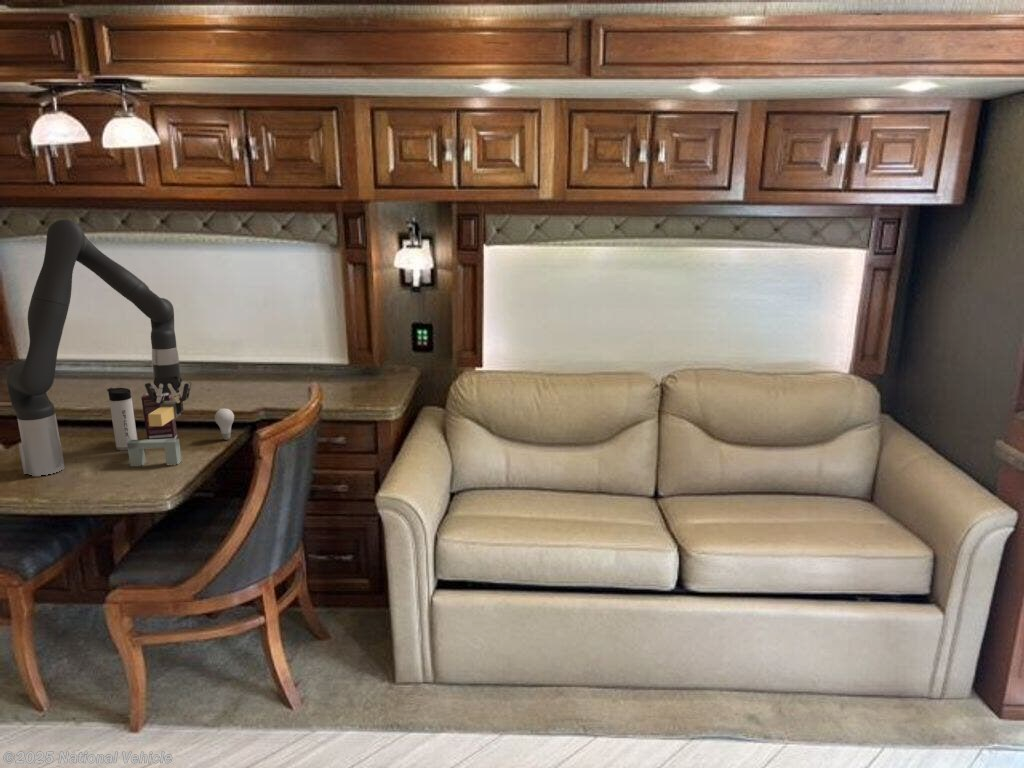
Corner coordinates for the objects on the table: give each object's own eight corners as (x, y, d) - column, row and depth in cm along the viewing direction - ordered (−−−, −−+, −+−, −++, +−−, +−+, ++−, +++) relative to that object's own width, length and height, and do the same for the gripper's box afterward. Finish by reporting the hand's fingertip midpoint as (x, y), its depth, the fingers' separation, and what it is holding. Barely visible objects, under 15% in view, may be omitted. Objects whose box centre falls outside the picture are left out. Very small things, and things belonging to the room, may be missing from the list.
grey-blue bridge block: (130, 466, 206) (126, 443, 204) (134, 462, 209) (131, 439, 207) (177, 465, 207) (174, 442, 205) (181, 461, 210) (178, 438, 208)
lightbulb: (233, 442, 228) (230, 411, 225) (214, 442, 227) (211, 411, 224) (238, 436, 234) (235, 406, 231) (220, 437, 233) (217, 406, 230)
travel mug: (122, 444, 225) (113, 386, 220) (142, 444, 226) (134, 386, 221) (111, 450, 219) (102, 391, 214) (132, 450, 219) (123, 391, 214)
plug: (148, 426, 208) (146, 411, 207) (168, 413, 222) (166, 399, 221) (163, 426, 208) (161, 411, 207) (182, 413, 222) (181, 400, 221)
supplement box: (177, 435, 234) (172, 391, 230) (174, 440, 230) (169, 395, 226) (150, 437, 232) (144, 393, 228) (146, 442, 227) (140, 396, 223)
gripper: (193, 359, 219) (198, 410, 223) (148, 359, 218) (153, 410, 222) (184, 364, 212) (189, 416, 216) (136, 364, 211) (142, 416, 215)
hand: (171, 413), depth 219 cm, fingers closed on plug, 4 cm apart
